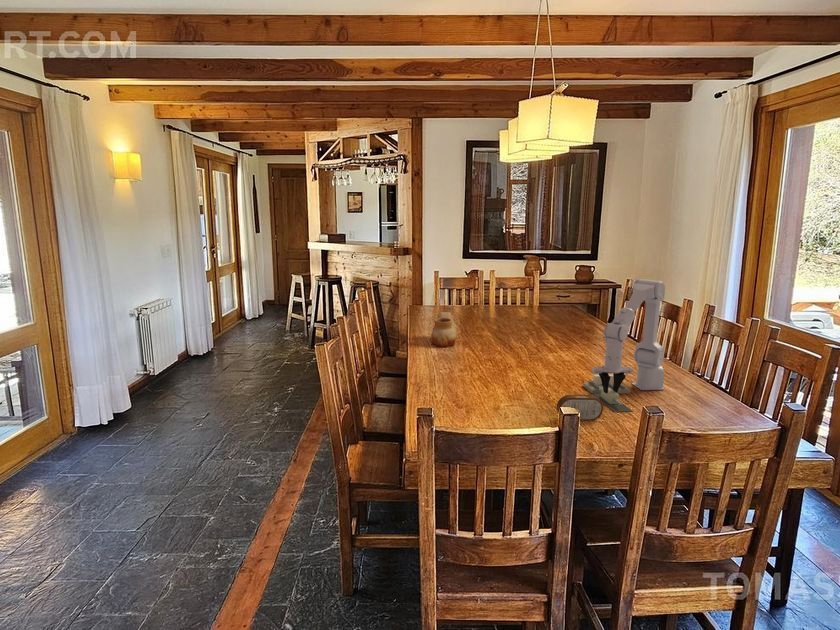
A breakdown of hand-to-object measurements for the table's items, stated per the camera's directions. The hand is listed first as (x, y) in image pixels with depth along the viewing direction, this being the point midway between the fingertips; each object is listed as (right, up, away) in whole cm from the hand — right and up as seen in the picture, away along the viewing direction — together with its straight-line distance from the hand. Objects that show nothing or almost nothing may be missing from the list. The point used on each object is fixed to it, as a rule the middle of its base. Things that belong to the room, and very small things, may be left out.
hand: (610, 392), depth 189 cm
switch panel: (+3, -1, +13) cm, 14 cm away
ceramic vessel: (-57, +14, +86) cm, 104 cm away
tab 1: (0, +1, +15) cm, 15 cm away
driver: (0, -4, -2) cm, 4 cm away
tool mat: (0, -4, -1) cm, 4 cm away
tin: (-17, -7, -17) cm, 25 cm away
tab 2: (+6, +1, +15) cm, 16 cm away
